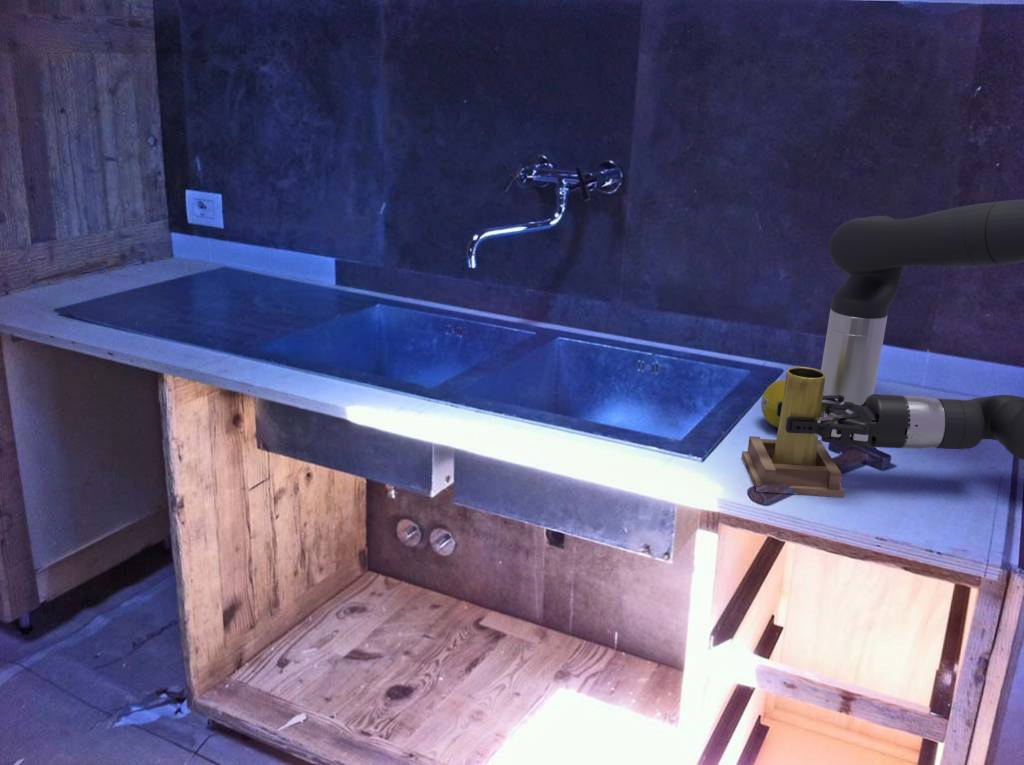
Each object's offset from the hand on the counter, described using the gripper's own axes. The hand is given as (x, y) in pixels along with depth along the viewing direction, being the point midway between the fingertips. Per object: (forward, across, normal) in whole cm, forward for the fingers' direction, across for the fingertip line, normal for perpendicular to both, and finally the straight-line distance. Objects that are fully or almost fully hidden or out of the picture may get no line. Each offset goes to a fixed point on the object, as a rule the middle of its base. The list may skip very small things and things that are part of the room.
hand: (782, 416), depth 133 cm
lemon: (-5, -19, +10) cm, 22 cm away
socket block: (-2, 0, +9) cm, 10 cm away
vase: (-3, 0, +8) cm, 8 cm away
